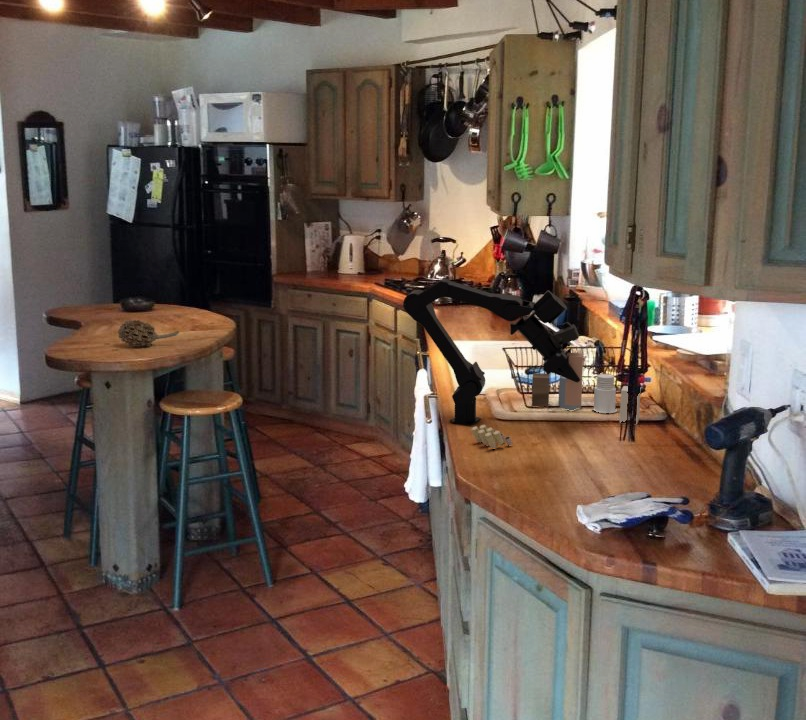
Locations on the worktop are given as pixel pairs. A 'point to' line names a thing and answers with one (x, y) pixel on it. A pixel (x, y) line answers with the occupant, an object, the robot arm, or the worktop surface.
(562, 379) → the slate blue block
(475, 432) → the ammunition
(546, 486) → the worktop surface
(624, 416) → the cream block
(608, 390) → the downlight
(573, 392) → the terracotta block
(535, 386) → the walnut block
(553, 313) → the robot arm
